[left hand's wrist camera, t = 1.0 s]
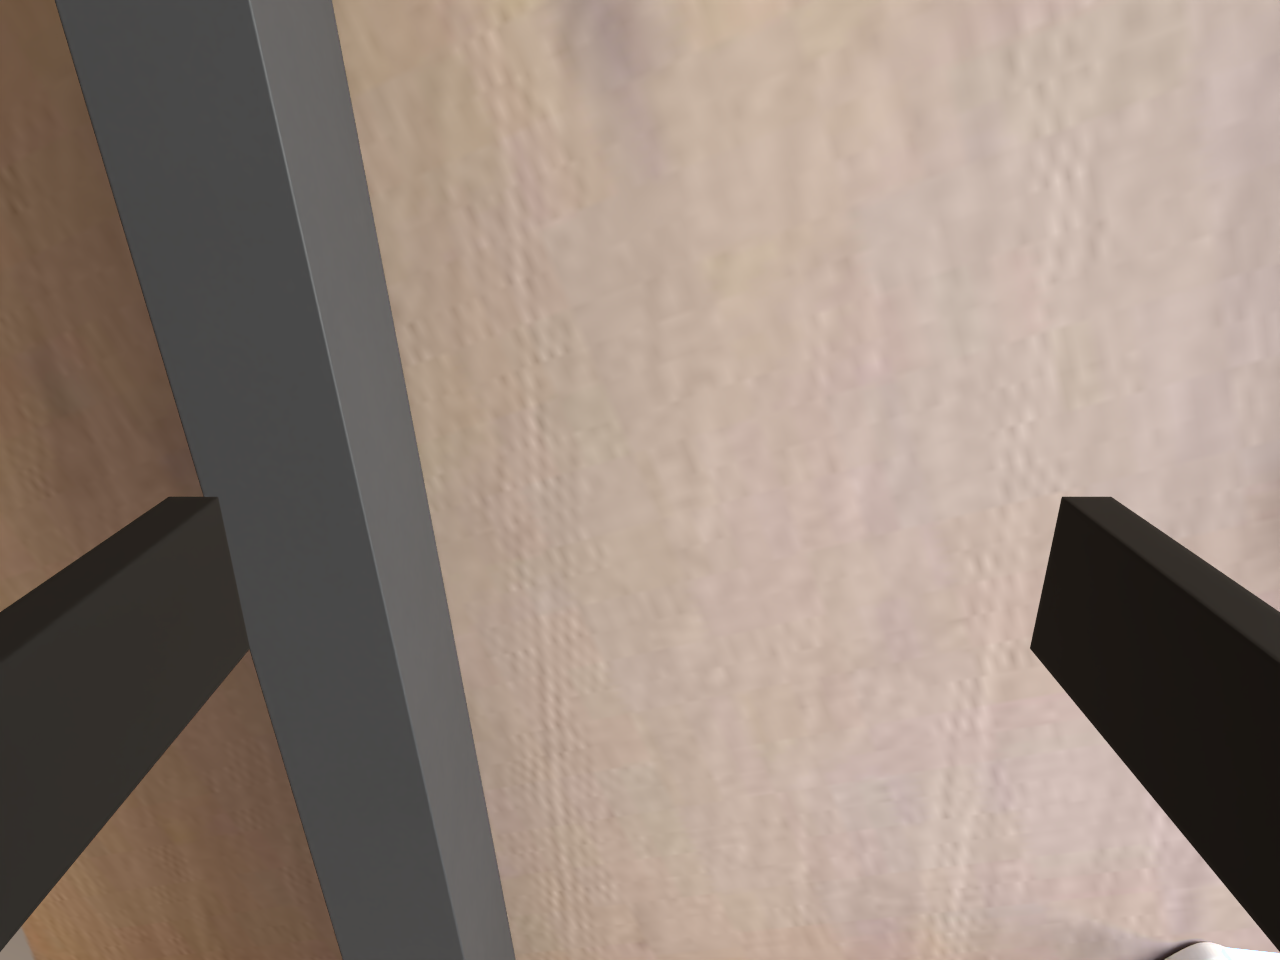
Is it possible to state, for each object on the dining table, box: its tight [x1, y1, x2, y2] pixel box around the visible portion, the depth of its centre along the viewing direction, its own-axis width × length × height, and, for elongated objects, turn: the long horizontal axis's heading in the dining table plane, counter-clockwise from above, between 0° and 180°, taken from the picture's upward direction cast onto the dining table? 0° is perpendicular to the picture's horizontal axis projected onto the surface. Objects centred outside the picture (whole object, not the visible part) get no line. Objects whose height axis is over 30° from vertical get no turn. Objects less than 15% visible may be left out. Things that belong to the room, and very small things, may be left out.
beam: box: [55, 0, 515, 960], centre depth 34 cm, size 59×6×7 cm, turn 5°
